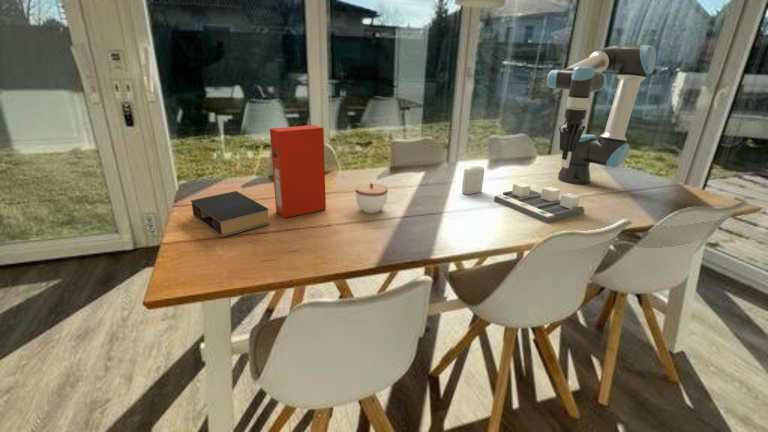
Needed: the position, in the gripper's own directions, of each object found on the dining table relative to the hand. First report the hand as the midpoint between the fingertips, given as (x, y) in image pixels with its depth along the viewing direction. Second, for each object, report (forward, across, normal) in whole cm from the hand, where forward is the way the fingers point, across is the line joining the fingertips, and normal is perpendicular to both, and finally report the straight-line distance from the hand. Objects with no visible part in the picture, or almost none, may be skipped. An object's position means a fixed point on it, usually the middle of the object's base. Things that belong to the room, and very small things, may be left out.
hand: (564, 166), depth 169 cm
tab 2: (+14, +3, +8) cm, 16 cm away
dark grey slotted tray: (+16, +11, -1) cm, 20 cm away
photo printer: (+17, +24, -28) cm, 40 cm away
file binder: (+17, +101, -36) cm, 109 cm away
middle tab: (+14, +4, -1) cm, 14 cm away
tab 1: (+14, +11, -10) cm, 21 cm away
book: (+17, +127, -37) cm, 134 cm away
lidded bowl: (+17, +76, -26) cm, 82 cm away
